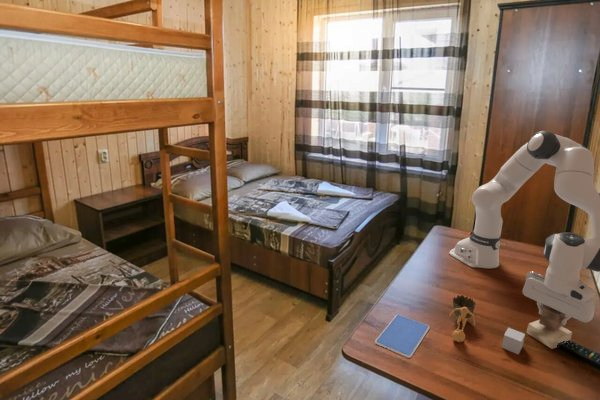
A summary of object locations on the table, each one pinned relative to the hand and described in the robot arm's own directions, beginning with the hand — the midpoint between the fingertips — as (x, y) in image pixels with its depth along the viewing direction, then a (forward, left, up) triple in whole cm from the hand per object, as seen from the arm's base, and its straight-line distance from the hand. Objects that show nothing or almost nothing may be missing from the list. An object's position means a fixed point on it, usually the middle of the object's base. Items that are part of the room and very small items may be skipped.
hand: (552, 318), depth 128 cm
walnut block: (0, 0, -2) cm, 2 cm away
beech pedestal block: (0, 0, -7) cm, 7 cm away
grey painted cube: (-4, -15, -7) cm, 17 cm away
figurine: (-16, -26, -7) cm, 31 cm away
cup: (-22, -16, -7) cm, 28 cm away
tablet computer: (-28, -40, -8) cm, 49 cm away
